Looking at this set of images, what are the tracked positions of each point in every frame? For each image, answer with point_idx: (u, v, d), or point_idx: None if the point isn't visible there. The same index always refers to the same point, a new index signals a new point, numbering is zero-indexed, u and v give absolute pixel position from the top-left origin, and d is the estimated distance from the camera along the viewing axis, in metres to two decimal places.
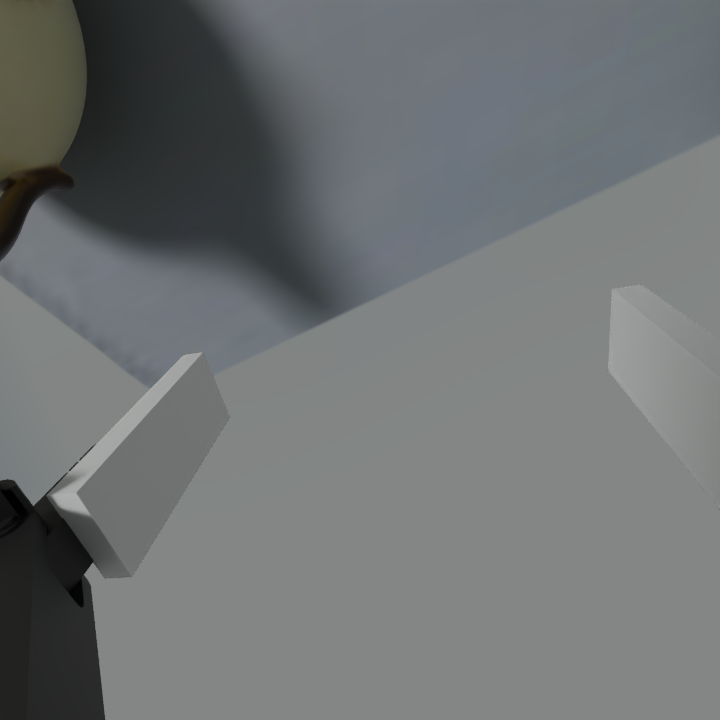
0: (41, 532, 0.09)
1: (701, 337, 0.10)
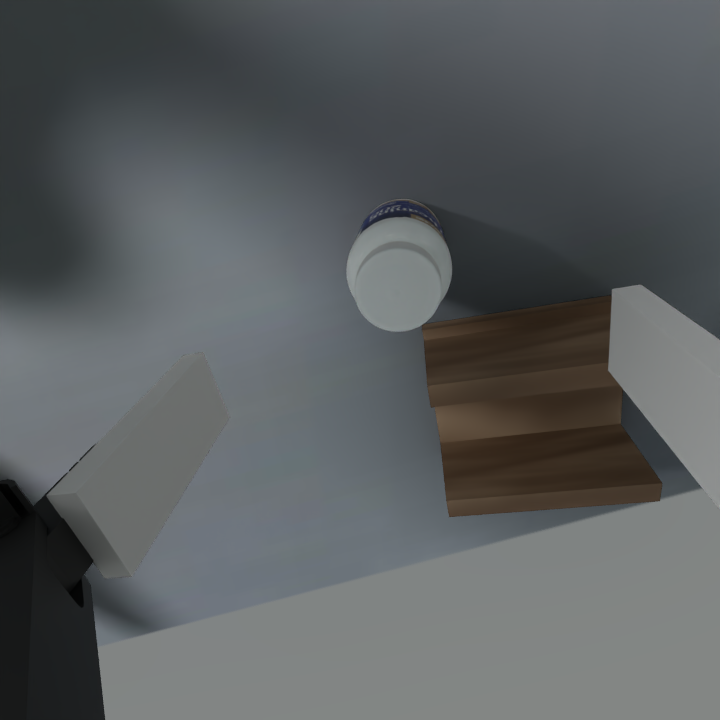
0: (41, 532, 0.09)
1: (702, 337, 0.10)
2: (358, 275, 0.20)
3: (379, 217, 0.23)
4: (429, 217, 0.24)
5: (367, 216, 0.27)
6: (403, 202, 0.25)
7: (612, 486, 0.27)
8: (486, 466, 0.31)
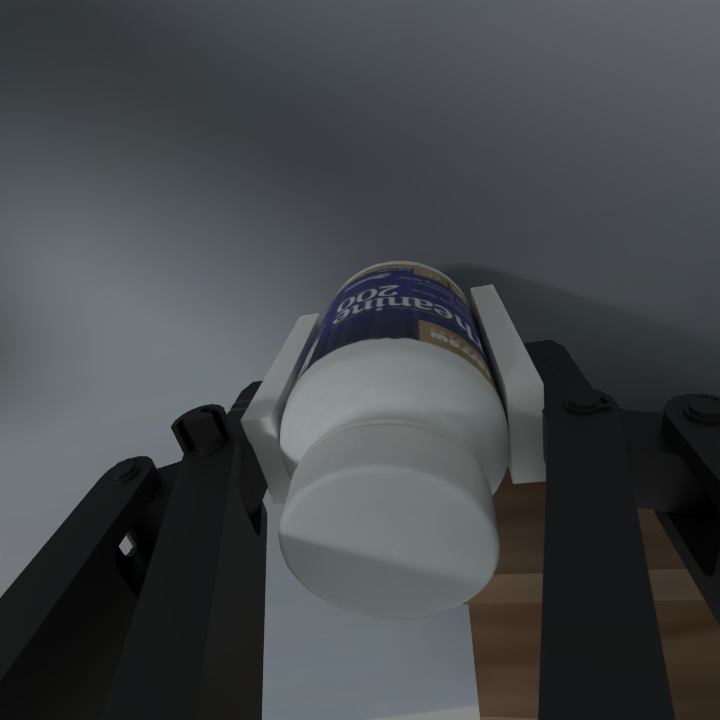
0: (237, 459, 0.10)
1: (504, 326, 0.12)
2: (286, 515, 0.08)
3: (351, 324, 0.11)
4: (456, 315, 0.12)
5: (339, 290, 0.15)
6: (403, 274, 0.13)
7: None
8: (538, 646, 0.21)
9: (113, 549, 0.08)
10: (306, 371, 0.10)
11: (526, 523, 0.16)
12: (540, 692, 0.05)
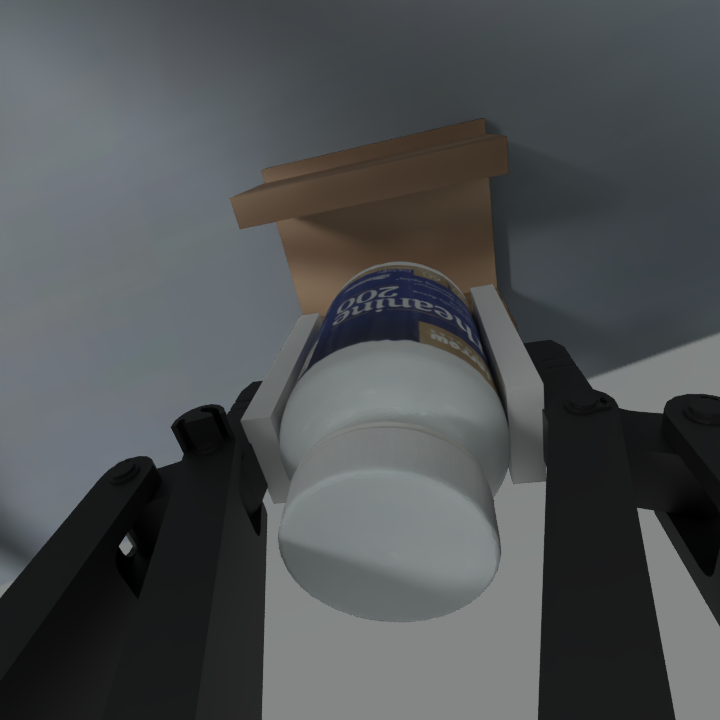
0: (237, 459, 0.10)
1: (504, 326, 0.12)
2: (285, 518, 0.08)
3: (351, 326, 0.11)
4: (456, 317, 0.12)
5: (339, 291, 0.15)
6: (403, 275, 0.13)
7: None
8: None
9: (114, 549, 0.08)
10: (306, 373, 0.10)
11: (291, 181, 0.23)
12: (540, 692, 0.05)
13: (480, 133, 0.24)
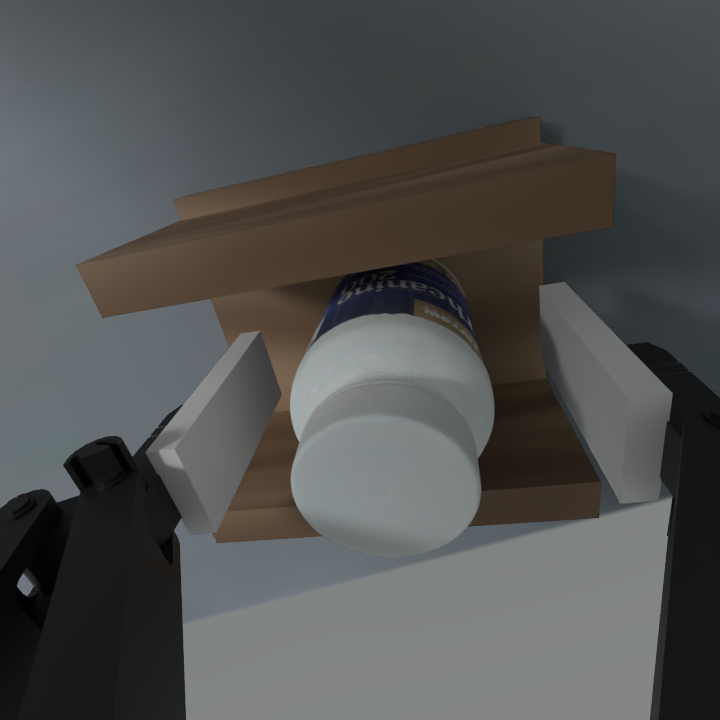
0: (141, 489, 0.10)
1: (596, 327, 0.11)
2: (297, 460, 0.09)
3: (354, 303, 0.12)
4: (448, 297, 0.13)
5: None
6: None
7: (503, 488, 0.14)
8: None
9: (12, 584, 0.08)
10: (313, 343, 0.11)
11: (202, 228, 0.13)
12: None
13: (531, 142, 0.14)
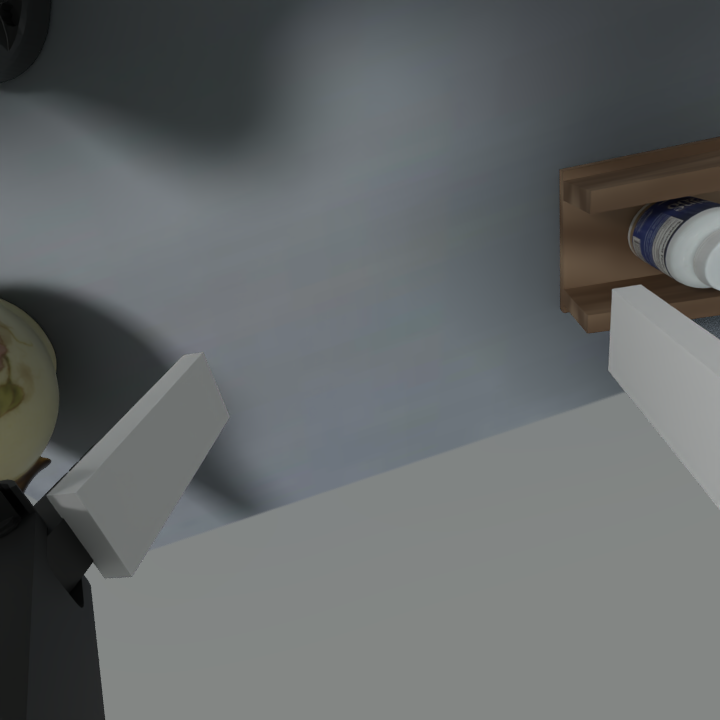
0: (41, 532, 0.09)
1: (702, 336, 0.10)
2: (715, 248, 0.27)
3: (695, 207, 0.30)
4: None
5: (644, 208, 0.34)
6: (688, 196, 0.32)
7: None
8: None
9: None
10: (687, 220, 0.29)
11: (621, 179, 0.31)
12: None
13: None
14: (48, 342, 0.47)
